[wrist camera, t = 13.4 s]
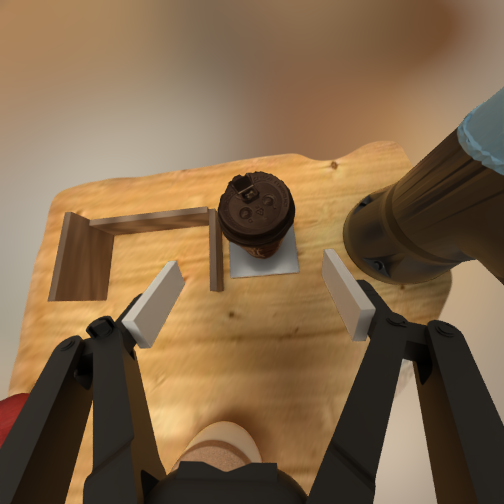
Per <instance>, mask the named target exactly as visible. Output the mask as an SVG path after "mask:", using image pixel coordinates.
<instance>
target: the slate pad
mask: <svg viewBox="0 0 504 504" xmlns="http://www.w3.org/2000/svg"><path fill="white" fill-rule="evenodd" d="M229 251H230V276H231V278H243V277H255V276H267V275H280V274H292V273H299V264H298V257H297V249H296V242H295V234H294V227H293V224H292V226H291V227H290V229H289V230H288V232H287V233H286V235H285V237H284V239H283V241H282V243H281V245H280V247H279V249H278V250H277V251H276V253H275V254H274V255H272V256H271V257H269V258H266V259H258V258H255V257H253V256H251V255H250V254H249V253H247V252H246V250H244V249H243V248H241V247H240V246H238V245H236V244H234V243H232V242H230V241H229Z"/></svg>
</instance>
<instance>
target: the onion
mask: <svg viewBox="0 0 504 504" xmlns="http://www.w3.org/2000/svg"><path fill="white" fill-rule="evenodd" d="M29 395H30V394H29V393H20V394H16V395H13V396H11V397H8V398H6V399H4V400H2V401H0V448H1V446H2V444H3V442H4V441H5V439H6V437H7V435H8V433H9V431H10V430H11V428H12V426H13V424H14V422H15V420H16V419H17V417H18V415H19V413H20V411H21V409H22V408H23V406H24V404H25V402H26V400H27V398H28V397H29Z"/></svg>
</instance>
